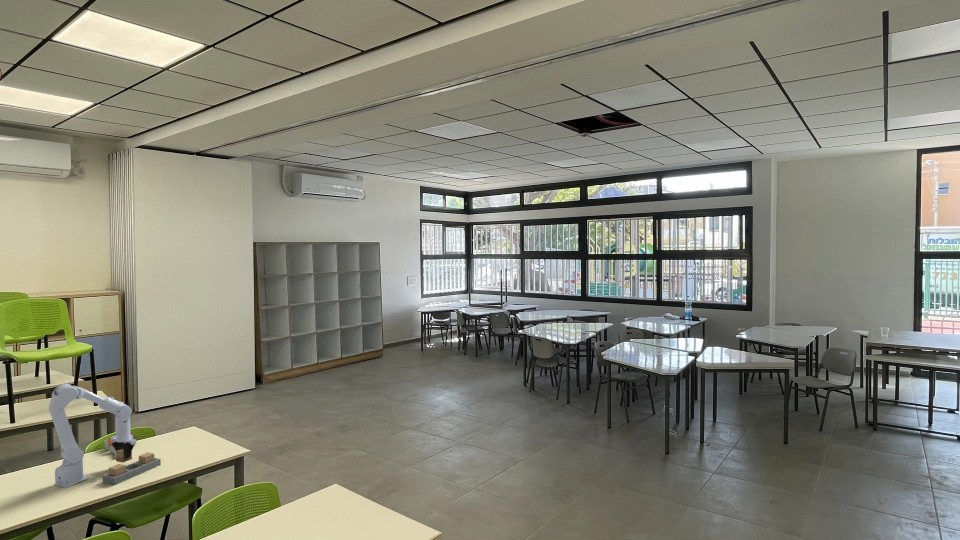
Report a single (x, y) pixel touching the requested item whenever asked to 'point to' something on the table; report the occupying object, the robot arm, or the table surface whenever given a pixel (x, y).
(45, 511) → the table surface
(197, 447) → the table surface
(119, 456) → the walnut block
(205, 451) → the table surface
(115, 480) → the pocket tray
